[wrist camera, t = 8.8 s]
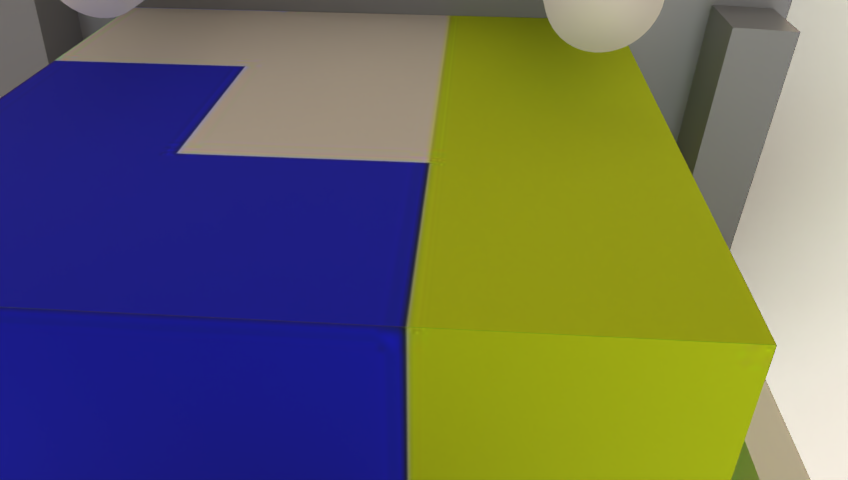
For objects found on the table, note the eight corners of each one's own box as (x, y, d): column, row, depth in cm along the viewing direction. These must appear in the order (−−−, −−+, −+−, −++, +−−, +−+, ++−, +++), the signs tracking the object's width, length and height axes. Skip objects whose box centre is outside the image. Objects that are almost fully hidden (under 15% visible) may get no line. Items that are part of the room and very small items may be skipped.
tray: (-5, -188, 15) (-268, -160, 10) (808, -139, 14) (990, -82, 9) (133, 417, 24) (36, 598, 19) (632, 461, 24) (673, 659, 18)
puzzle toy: (131, 7, 16) (-280, 292, 7) (614, 19, 15) (776, 345, 7) (204, 366, 21) (16, 768, 13) (562, 385, 20) (615, 819, 12)
